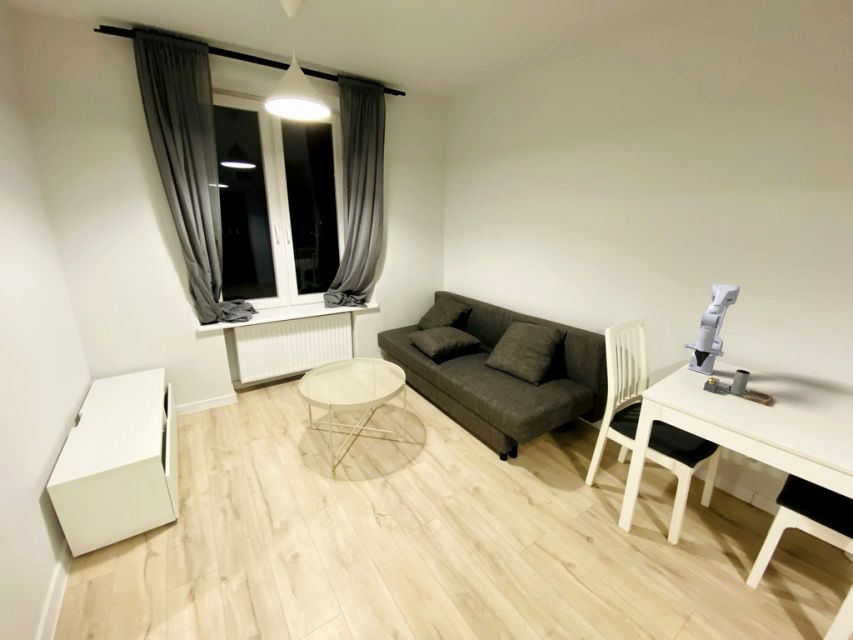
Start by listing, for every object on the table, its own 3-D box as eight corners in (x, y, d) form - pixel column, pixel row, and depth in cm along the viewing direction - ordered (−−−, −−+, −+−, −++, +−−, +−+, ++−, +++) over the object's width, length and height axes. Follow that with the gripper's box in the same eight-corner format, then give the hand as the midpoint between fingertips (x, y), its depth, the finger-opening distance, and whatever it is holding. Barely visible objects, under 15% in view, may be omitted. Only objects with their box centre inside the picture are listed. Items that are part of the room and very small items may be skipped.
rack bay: (744, 398, 151) (745, 395, 151) (749, 392, 156) (750, 389, 156) (767, 405, 146) (768, 402, 145) (771, 399, 151) (773, 396, 150)
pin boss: (703, 389, 159) (705, 382, 158) (706, 386, 162) (708, 379, 161) (713, 393, 156) (715, 386, 155) (717, 389, 159) (718, 383, 158)
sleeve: (704, 386, 162) (705, 384, 162) (710, 381, 167) (711, 379, 167) (743, 398, 152) (743, 396, 152) (748, 392, 156) (748, 391, 156)
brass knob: (705, 388, 159) (707, 379, 157) (707, 386, 160) (709, 377, 159) (712, 390, 157) (715, 381, 155) (715, 389, 158) (717, 379, 157)
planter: (744, 392, 156) (750, 371, 153) (743, 396, 153) (749, 374, 150) (730, 389, 159) (736, 368, 156) (730, 392, 156) (736, 371, 153)
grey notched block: (707, 385, 163) (709, 379, 162) (710, 383, 165) (712, 377, 165) (726, 391, 158) (728, 385, 157) (729, 388, 160) (730, 382, 159)
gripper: (684, 336, 165) (678, 362, 169) (722, 345, 154) (715, 373, 158) (690, 333, 169) (684, 359, 173) (727, 341, 158) (720, 369, 162)
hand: (699, 365), depth 166 cm, fingers closed
